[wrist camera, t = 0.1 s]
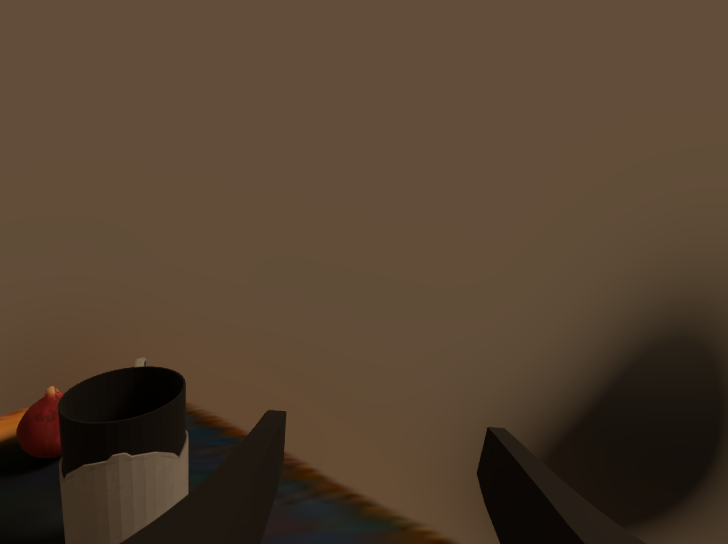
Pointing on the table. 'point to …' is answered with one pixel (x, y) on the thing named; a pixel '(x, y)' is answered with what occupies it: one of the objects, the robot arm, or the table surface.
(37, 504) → the table surface
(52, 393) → the onion
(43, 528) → the table surface
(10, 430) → the table surface
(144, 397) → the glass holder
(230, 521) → the robot arm
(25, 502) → the table surface
